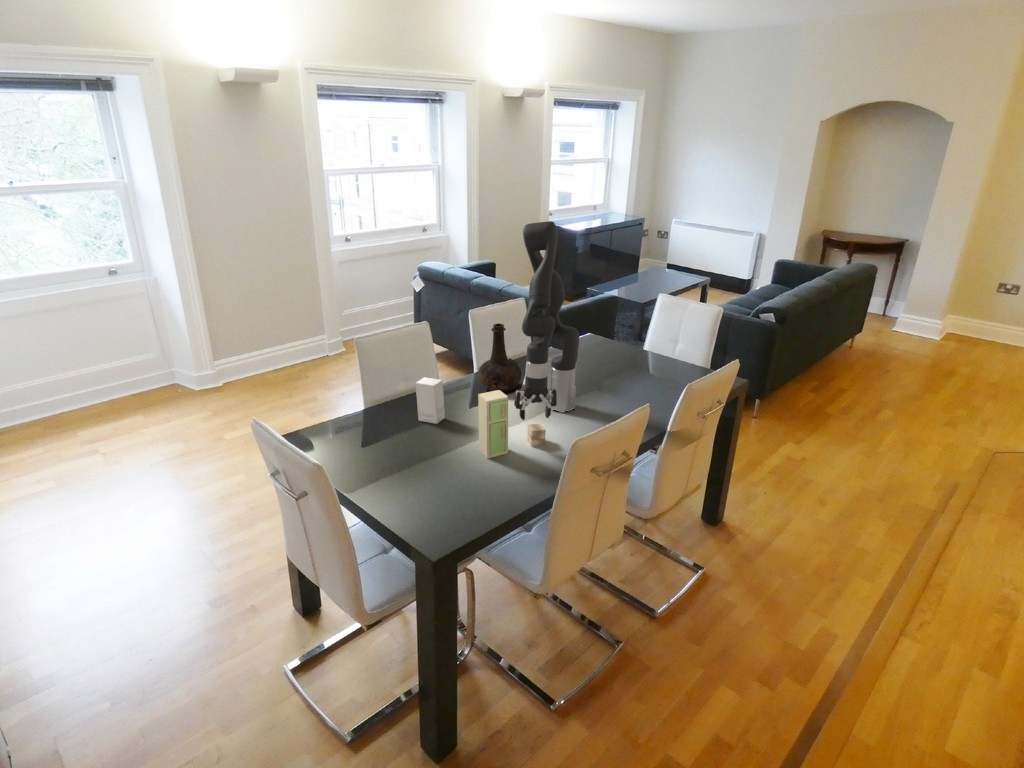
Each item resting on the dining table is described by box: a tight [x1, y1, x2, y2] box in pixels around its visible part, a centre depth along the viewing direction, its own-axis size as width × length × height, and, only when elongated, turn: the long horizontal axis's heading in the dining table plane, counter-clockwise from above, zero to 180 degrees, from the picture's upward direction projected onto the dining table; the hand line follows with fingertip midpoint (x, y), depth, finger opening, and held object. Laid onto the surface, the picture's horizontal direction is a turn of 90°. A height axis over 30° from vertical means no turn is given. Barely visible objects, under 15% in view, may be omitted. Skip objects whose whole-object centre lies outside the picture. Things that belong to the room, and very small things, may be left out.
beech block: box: [526, 423, 547, 448], centre depth 215 cm, size 5×5×6 cm
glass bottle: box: [477, 323, 522, 393], centre depth 257 cm, size 18×18×28 cm
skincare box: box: [415, 376, 446, 425], centre depth 230 cm, size 8×7×16 cm
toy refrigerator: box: [477, 390, 509, 459], centre depth 205 cm, size 8×7×21 cm
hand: (534, 418), depth 213 cm, fingers open, 8 cm apart
